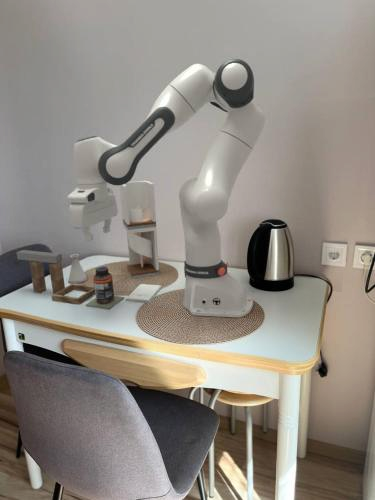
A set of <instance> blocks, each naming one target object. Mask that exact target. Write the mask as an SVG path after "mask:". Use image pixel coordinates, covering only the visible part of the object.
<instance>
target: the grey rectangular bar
mask: <svg viewBox="0 0 375 500" xmlns="http://www.w3.org/2000/svg"><path fill="white" fill-rule="evenodd" d="M16 257H17V260H20V261H21V260H23V261H28V262H29V261H38V262H42V263H48V264H49V263H59V262H63V256H62V253H58V252H46V251H38V250H37V251H36V250H28V249H22V250H19V251H17V252H16Z"/></svg>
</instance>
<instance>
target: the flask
mask: <svg viewBox="0 0 375 500" xmlns="http://www.w3.org/2000/svg"><path fill="white" fill-rule="evenodd" d="M79 257H80V255H79V254H77V253H75V254H70V259H71V266H70V272H69V277H68V281H67V283H69V284H82V283H83V282H85V281H87V280H88V277H87V274H86V273H85V271H84V269H83V266H82V265H81V263H80V260H79Z"/></svg>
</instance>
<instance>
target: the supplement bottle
mask: <svg viewBox="0 0 375 500" xmlns="http://www.w3.org/2000/svg"><path fill="white" fill-rule="evenodd" d="M93 284H94V287H95V295H94V296H95V298H96V301H97V302H98V303H101V304H106V303H110V302H112V301H113V300H114V296H115V292H114V281H113V275H112V274H111V273H110V272H109V268H108V266H99V267H96V268H95V275H94V276H93Z"/></svg>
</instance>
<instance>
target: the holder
mask: <svg viewBox="0 0 375 500" xmlns="http://www.w3.org/2000/svg"><path fill="white" fill-rule="evenodd" d="M62 262H63V261H61V262H59V263H48V268H49V276H50V281H51V282H50V283H51V287H52V288H51V289H52V294H51V300H52V302H57V303H58V302H59V303H65V304H71V305H77V306H80V305H81V304H83V303H85V302H86V301H88V300H89V299H90V298H92V297H94V296H96V295H95V287H94V286H93V285H88V284H87V285H86V284H81V283H70V284H68V285H67V286H66V284H65V279H64V272H63V264H62ZM28 264H29V269H30V274H31V283H32V287H33V293H37V294H42V293H44V292H46V291H47V284H46V279H45V278H46V277H45V271H44V266H43V262H38V261H29V260H28ZM73 291H77V292H84V294H82V295H80V296H78V297H75V296H69V295H68V294H69V293H71V292H73Z"/></svg>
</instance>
